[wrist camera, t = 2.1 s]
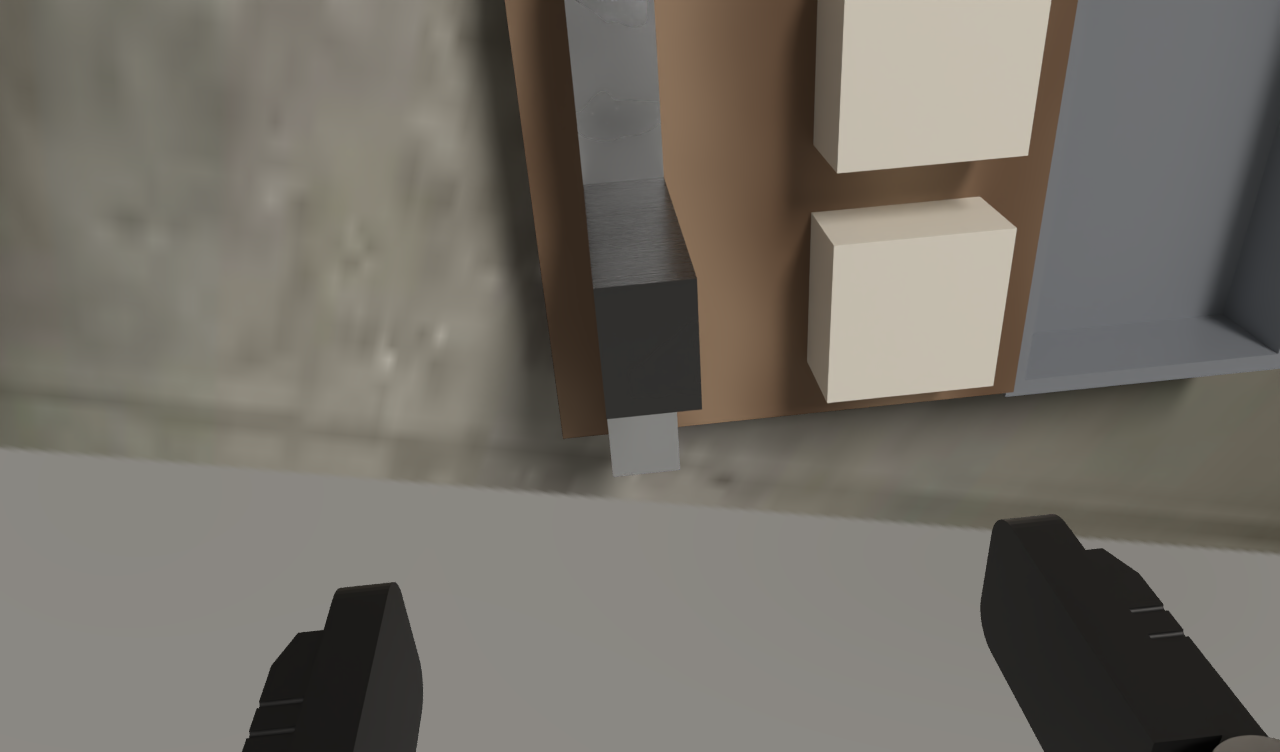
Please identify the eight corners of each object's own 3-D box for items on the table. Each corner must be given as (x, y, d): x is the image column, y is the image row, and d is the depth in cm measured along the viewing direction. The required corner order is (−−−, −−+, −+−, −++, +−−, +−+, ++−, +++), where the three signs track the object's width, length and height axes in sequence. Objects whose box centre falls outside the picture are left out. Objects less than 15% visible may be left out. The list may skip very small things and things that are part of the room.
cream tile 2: (807, 361, 30) (826, 403, 27) (811, 212, 27) (834, 245, 25) (961, 345, 30) (993, 385, 28) (979, 196, 27) (1016, 227, 25)
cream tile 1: (813, 144, 26) (837, 173, 24) (819, -51, 23) (846, -39, 21) (988, 128, 26) (1027, 155, 24) (1013, -68, 24) (1059, -57, 21)
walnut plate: (561, 376, 34) (563, 438, 30) (497, -122, 25) (489, -115, 22) (966, 335, 34) (1013, 392, 31) (1031, -166, 26) (1105, -164, 23)
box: (965, 347, 34) (1005, 396, 31) (1034, -187, 26) (1098, -188, 23) (1226, 320, 35) (1290, 367, 32) (1381, -214, 26) (1489, -219, 23)
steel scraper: (607, 421, 30) (627, 627, 22) (554, -96, 22) (557, -57, 15) (668, 414, 30) (710, 617, 22) (637, -103, 22) (683, -67, 15)
